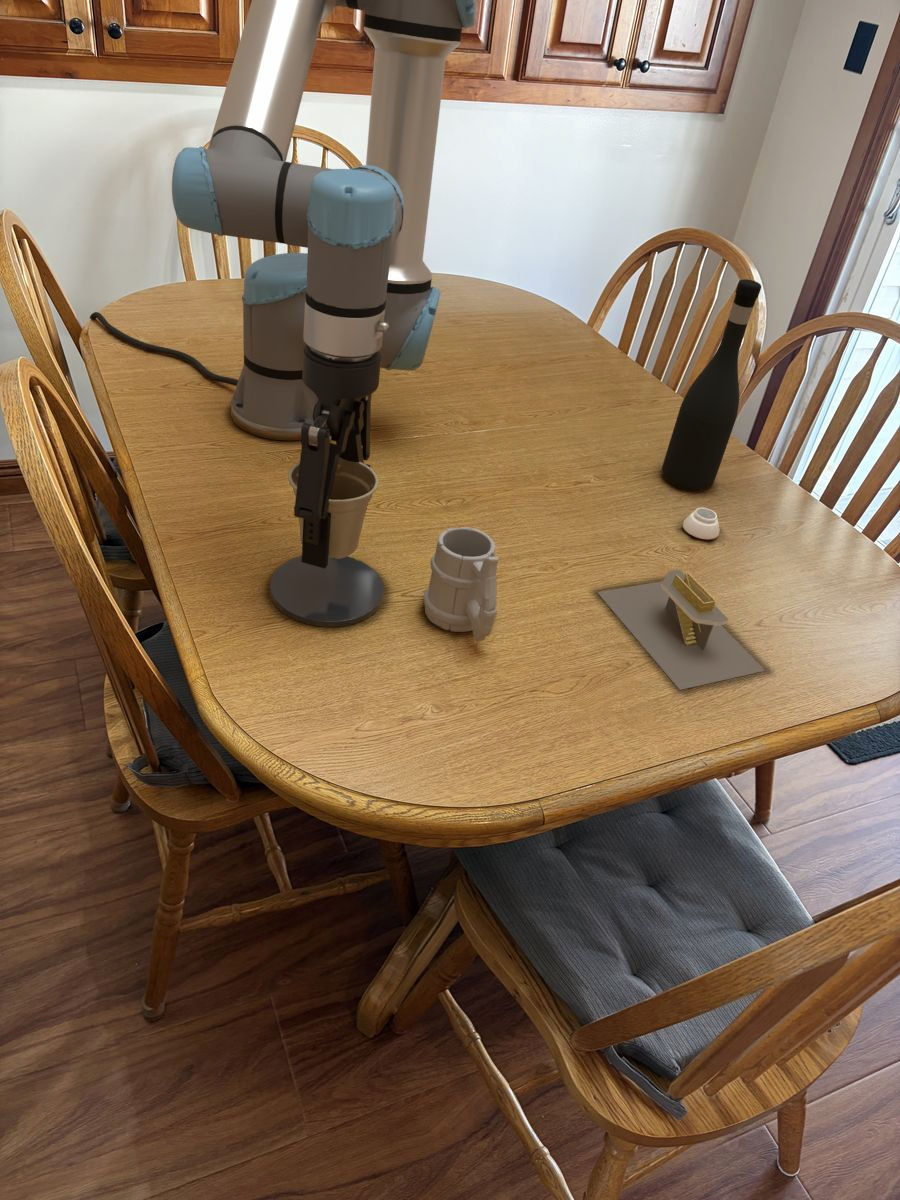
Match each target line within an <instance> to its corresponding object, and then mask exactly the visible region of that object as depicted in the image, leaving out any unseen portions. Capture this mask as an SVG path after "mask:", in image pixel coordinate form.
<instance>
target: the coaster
mask: <svg viewBox="0 0 900 1200" xmlns="http://www.w3.org/2000/svg"><path fill="white" fill-rule="evenodd" d="M269 593H270V594H269V595H270V598H271V600H272V603H273V604H274V605H275V607H276V608H277V609H278V610H279V611H280V612H282V613H283V614H284V615H286V616H287V617H289V618H290V619H292V620H295V621H297V622H299V623H303V624H305V625H309V626H310V625H311V626H313V627H321V628H322V627H323V628H339V627H347V626H351V625H355V624H358V623H360V622H363V621H365V620H367V619H369V618H370V617H372V616H373V615H375V613H376V612H378V610H379V609H380V608H381V606H382V603H383V601H384V598H385V597H384V596H385V585H384V582H383V580H382V578H381V576H380V575H379V574H378V573H377V571H376V570H375V569H373V568H372V567H371V566H369V565H368V564H367V563H365V562H362V561H361V560H359V559H356V558H354V557H351V556H347V557H344V558H341V559H337V558H333V557H330V558H328V565H327V567H326V568H325V569H324V568H321V567H317V566H314V565H310V564H307V563H303V562H302V555H300V556H297V557H294V558H292V559H289V560H287V561H286V562H284V563H282V564H281V565H280V566H278V568H276V570H275V571H274V572H273V574H272V576H271V578H270V583H269Z"/></svg>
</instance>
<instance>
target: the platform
mask: <svg viewBox="0 0 900 1200" xmlns="http://www.w3.org/2000/svg"><path fill="white" fill-rule="evenodd" d="M596 593H597V594H598V595H599V596H600V598H601V599H602V600H603V601H604V603H605V604H606V605H607V606H608V607H609V609H611V611H612V612H613V613H614V614H615V616H616V617H617V618H618V619H619V620H620V622H621V623H622V624H623V625H624V626H625V628H627V630H628V631H629V632H630V633H631V634H632V636H633V637H634V638H635V639H636V640H637V641H638V643H639V644H640V645H641V646H642V647H643V649H645V651H646V652H647V654H649V656H650V657H651V658H652V659H653V660H654V661H655V662H656V664H657V665H658V666H659V668H660V669H662V671H663V672H664V673H665V674H666V676H667V677H668V678H669V679H670V680H671V682H672V683H673V684H674V685H675V686H676V687H677V689H678V690H679V691H681V690H685V689H689V688H690V689H691V688H695V687H699V686H704V685H709V684H712V683H716V682H721V681H725V680H730V679H735V678H739V677H744V676H748V675H752V674H753V675H754V674H758V673H762V672H765V671H766V670H765V669H764V668H763V667H762V666H761V664H760V663H759V662H757V660H755V658H754V657H753V656H752V655H751V654H750V653H749V651H747V650H746V649H745V648H744V647H743V646H742V644H741V643H739V641H737V640H736V638H734V637H733V635H731V634H730V632H729V631H728V630H727V629H726V628H725V627H724V626H725V625H726V624H727V623H728V621H729V620H728V617H727V616H726V615H725V614H724V612H722V611H721V609H720V608H718V606H717V605H715V604H716V602H717V600H716V599H715V598H714V597H713V596H712V595H711V594H710V593H709V592H708V591H707V590H706V588H704V587H703V585H701V584H700V583H699V582H698V581H697V580H696V579H695V578H694V576H692V575H691V574H690V573H689V572H688V571H685V573H684V572H683V571H682V570H680V569H674V570H673V569H672V570H669V571H668V572H667V574H666V575H665V577H664V579H662V581H656V582H650V583H644V584H643V583H642V584H638V585H632V586H631V585H630V586H625V587H620V588H619V587H618V588H614V589H608V590H602V591H596Z"/></svg>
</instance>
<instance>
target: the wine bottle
mask: <svg viewBox="0 0 900 1200" xmlns="http://www.w3.org/2000/svg"><path fill="white" fill-rule="evenodd" d="M735 288H736V289H735V291H734V292H735V295H734V298H733V303H732V306H731V308H730V313H729V316H728V319H727V322H726V325H725V329H724V331H723V335H722V338H721V341H720V343H719V345H718V347H717V350H716V351H715V353H714V355H713V356H712V357H711V359H710V361H708V363H707V364H706V366H705V367H704V368H703V369H702V371H701V372H700V373H699V374H698V375H697V377H696V378H695V379H694V381H693V382H692V383H691V385H690V386H689V388H688V390H687V392H686V394H685V395H684V397H683V399H682V402H681V404H680V407H679V410H678V413H677V417H676V420H675V423H674V427H673V430H672V433H671V436H670V438H669V439H670V440H669V443H668V447H667V449H666V452H665V456H664V460H663V462H662V466H661V471H662V476H663V477H664V479H665V480H666V481H667V482H668V483H670V484H671V485H673V486H674V487H676V488H679V489H682V490H686V491H689V492H701V491H705V490H708V489H709V488H711V487H712V486H713V485H714V483H715V481H716V478H717V475H718V472H719V470H720V466H721V464H722V461H723V458H724V455H725V452H726V450H727V446H728V444H729V442H730V441H729V440H730V439H731V435H732V432H733V429H734V426H735V423H736V420H737V418H738V412H739V407H740V385H739V384H740V383H739V354H740V349H741V346H742V342H743V339H744V336H745V334H746V330H747V327H748V324H749V321H750V318H751V315H752V312H753V309H754V307H755V304H756V301H757V299H758V298H759V295H760V293H761V290H762V285H761V283H760V282H758V281H756V280H752V279H747V278H742V279H740V280H739V281H738V283H737V285H736V287H735Z"/></svg>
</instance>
